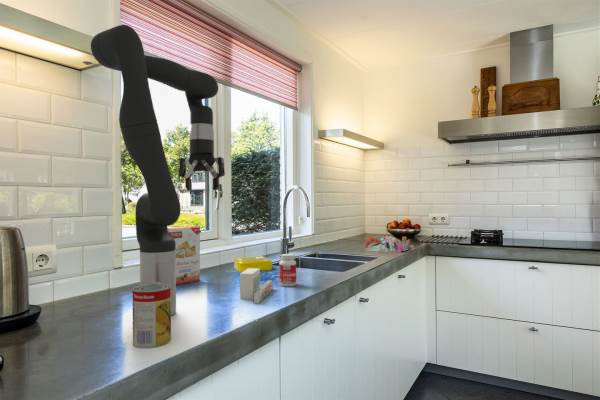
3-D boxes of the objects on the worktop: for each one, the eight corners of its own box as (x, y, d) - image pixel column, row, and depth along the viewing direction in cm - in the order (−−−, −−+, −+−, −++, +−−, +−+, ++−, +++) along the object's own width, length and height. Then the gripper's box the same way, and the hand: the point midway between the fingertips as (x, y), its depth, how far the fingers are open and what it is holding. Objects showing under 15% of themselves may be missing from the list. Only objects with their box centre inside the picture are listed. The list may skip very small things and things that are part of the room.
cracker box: (169, 286, 149) (168, 228, 149) (159, 284, 153) (159, 227, 153) (201, 280, 160) (200, 226, 160) (191, 278, 163) (191, 225, 163)
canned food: (175, 335, 95) (174, 283, 95) (165, 347, 87) (164, 290, 87) (140, 336, 95) (139, 283, 95) (127, 348, 87) (126, 291, 87)
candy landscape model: (386, 247, 265) (385, 233, 265) (417, 250, 246) (416, 235, 246) (358, 250, 249) (358, 235, 249) (389, 254, 231) (389, 238, 231)
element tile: (233, 267, 192) (233, 257, 192) (265, 265, 196) (264, 255, 196) (239, 272, 177) (239, 261, 177) (273, 270, 182) (273, 259, 182)
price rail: (261, 303, 123) (261, 293, 123) (254, 303, 124) (254, 293, 124) (274, 289, 143) (274, 280, 143) (268, 288, 144) (268, 280, 144)
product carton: (260, 292, 139) (260, 268, 139) (253, 299, 129) (252, 273, 129) (247, 292, 139) (247, 268, 139) (239, 299, 129) (239, 273, 129)
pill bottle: (281, 287, 146) (281, 256, 146) (277, 284, 152) (277, 253, 152) (298, 286, 148) (298, 255, 148) (293, 282, 154) (293, 253, 154)
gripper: (227, 140, 135) (227, 190, 135) (185, 141, 137) (185, 190, 137) (219, 137, 127) (219, 189, 127) (175, 138, 129) (175, 190, 129)
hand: (202, 190), depth 132 cm, fingers open, 8 cm apart
